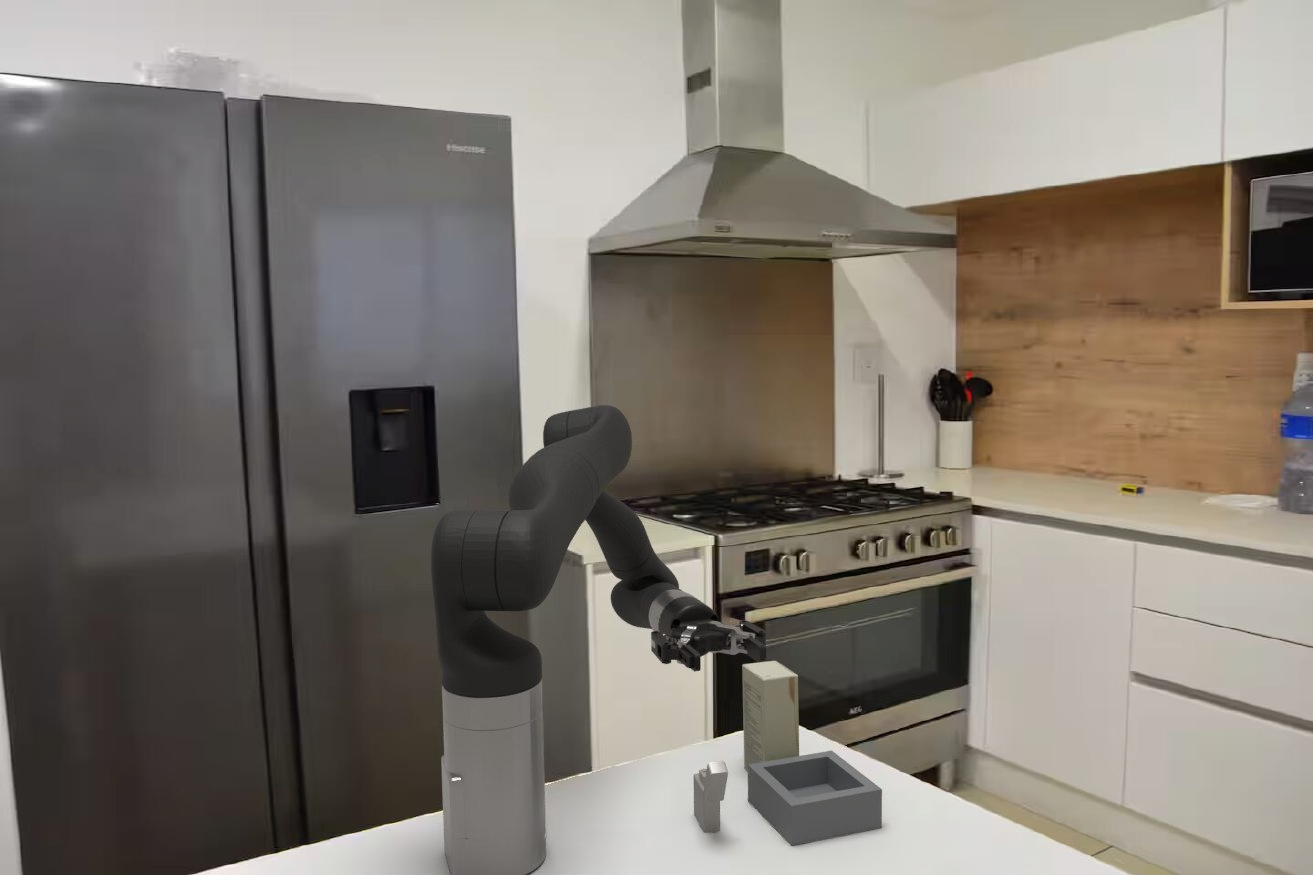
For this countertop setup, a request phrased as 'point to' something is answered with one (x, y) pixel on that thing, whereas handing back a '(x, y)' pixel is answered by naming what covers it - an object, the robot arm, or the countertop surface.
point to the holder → (814, 797)
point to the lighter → (709, 795)
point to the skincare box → (769, 712)
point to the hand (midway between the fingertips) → (730, 659)
